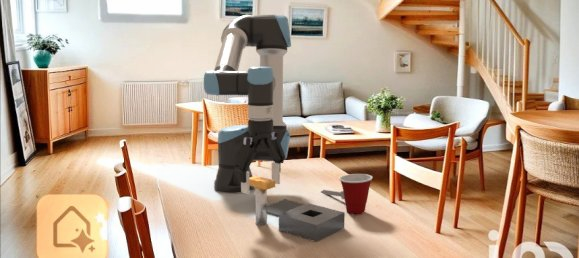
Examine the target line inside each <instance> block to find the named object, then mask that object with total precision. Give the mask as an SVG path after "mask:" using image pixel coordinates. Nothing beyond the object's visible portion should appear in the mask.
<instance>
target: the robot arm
mask: <svg viewBox="0 0 579 258" xmlns="http://www.w3.org/2000/svg"><path fill="white" fill-rule="evenodd" d="M289 25H290V24H289V19H288V17H287V16H286V15H284V14H283V15H282V14H281V15H280V14H245V15H241V16H239V17H236V18H235V19H233V20H231V21H230V22H229V23H228V24H227V25H226V26H225V28H224V29H223V30H222V33H221V36H220V41H221V42H220V43H221V46H220V49H219V53H218V55H217V59H216V62H215V66H214V69H213V70H207V71H205V72H204V74H203V75H204V76H203V89H204V92H205V94H206V95H208V96H209V95H211V96H247V118H249V119H248V120H247V124H239V125H238V124H237V125H231V126H227V127H223V128H221V129H220V130H219V131H218V135H217V148H218V149H217V151H218V153H217V155H218V157H217V161H218V169H217V172H216V178H215V179H214V182H213V188H214V190H215V191H217V192H219V193H220V192H221V193H227V194H237V193H244V194H247V195H248V194H250V191H252V190H254V189H255V187H253V186H249V178H251V177H253V173H252V171H251V167H250V166H251V164H252V162H253V161H254V162H271V180H275V185H279V184H281V182H280V181H281V180H280V179H281V174H280V173H281V169H282V168H281V164H283V163H284V162H285V160H286V159H287V157H288V152H289V146H290V138H291V130H290V129H288V128H287V124H286V122H284V120H283V117H284V116H283V114H284V113H283V112H284V111H283V110H284V109H283V108H284V107H283V106H284V102H283V101H284V98H283V97H284V96H283V95H284V93H283V92H284V91H283V90H284V87H283V86H284V56H285V55H286V53H288V48H291V47H292V41H291V34H290V33H291V31H290V26H289ZM246 47H247V48H248V47H252V48H253V47H255V51H256V53H257V54H258V55H259V65H258V66H250V67H249V68H248V69H247V71H245V70H244V71H243V70H241V71H240V70H239V68H240V64H241V59H242V56H243V55H242V54H243V51H244V50H245V48H246Z"/></svg>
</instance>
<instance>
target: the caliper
mask: <svg viewBox="0 0 579 258" xmlns="http://www.w3.org/2000/svg"><path fill="white" fill-rule="evenodd" d="M320 193H322V194H324V195H330V196H334V197H335V196H336V197H341V200H345V199H344V193H343V190H342V191H336V190H331V189H330V190H329V189H322V190H321V191H320Z"/></svg>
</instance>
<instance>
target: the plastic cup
mask: <svg viewBox="0 0 579 258" xmlns="http://www.w3.org/2000/svg"><path fill="white" fill-rule="evenodd" d="M338 180H339V181H340V183H341V184H340V185H341V186H342V191H343V193H344V199H343V200H344V202H345V209H346V212H347V214H349V215H350V214H351V215H357V216H358V215H363V214H364V213H365V211H366V207H367V206H366V205H367V202H368V198H369V197H368V196H369V192H370V187H371V182H372V180H373V175H370V174H367V173H351V174H350V173H349V174H344V175H342V176H340V177H339V178H338Z"/></svg>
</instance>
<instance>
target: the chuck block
mask: <svg viewBox="0 0 579 258" xmlns="http://www.w3.org/2000/svg"><path fill="white" fill-rule="evenodd" d="M303 204H304V205H301V206H299V207H296V208H294V209H291V210H289V211H286V212H283V213H281V214H279V217H278V231H280V232H283V233H285V234H290V235H293V236H295V237H300V238H303V239H306V240H309V241H312V242H315V243H318V242H319V241H321V240H324V239H325V238H327V237H329V236H331V235H334V234H336V233H338V232H340V231H342V230H344V229H345V214H346V213H345V211H340V210H336V209H332V208H328V207H324V206H321V205H316V204H312V203H310V202H309V203H308V202H307V203H303Z"/></svg>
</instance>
